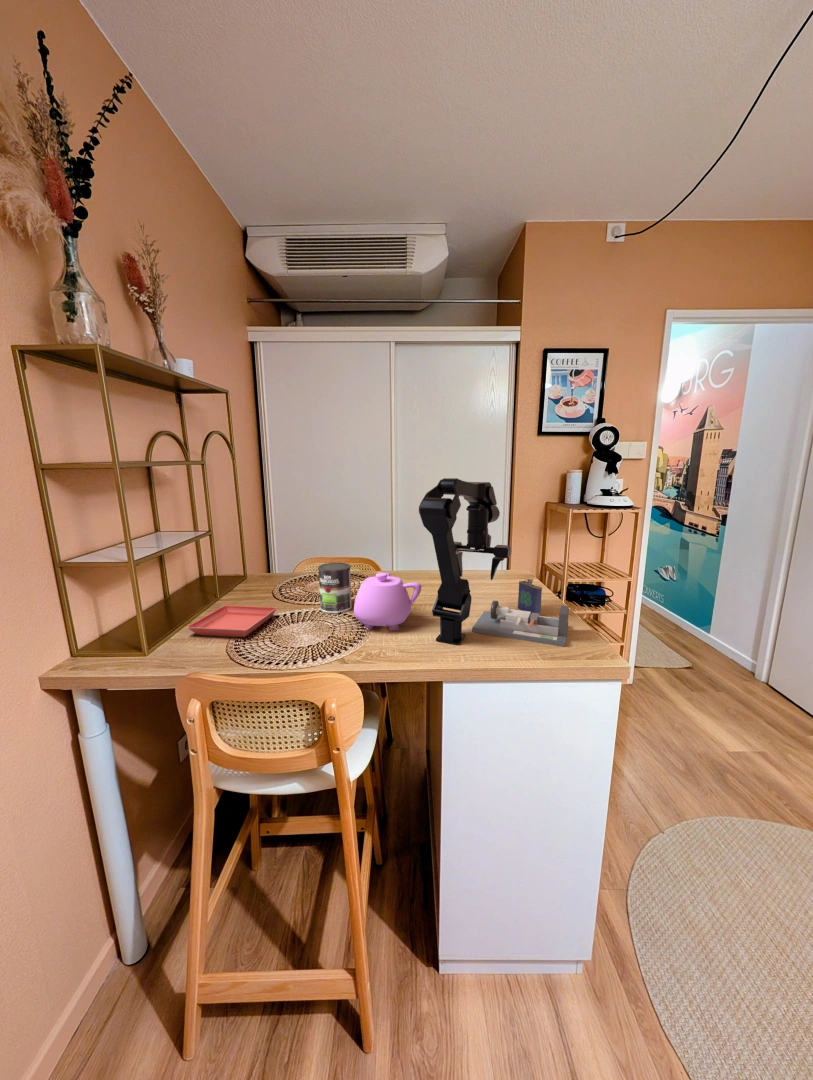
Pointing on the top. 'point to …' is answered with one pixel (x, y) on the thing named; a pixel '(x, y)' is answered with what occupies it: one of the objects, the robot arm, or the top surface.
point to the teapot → (384, 601)
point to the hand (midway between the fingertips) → (476, 578)
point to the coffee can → (335, 587)
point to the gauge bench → (526, 628)
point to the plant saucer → (232, 621)
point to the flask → (529, 597)
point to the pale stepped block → (509, 613)
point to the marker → (534, 619)
